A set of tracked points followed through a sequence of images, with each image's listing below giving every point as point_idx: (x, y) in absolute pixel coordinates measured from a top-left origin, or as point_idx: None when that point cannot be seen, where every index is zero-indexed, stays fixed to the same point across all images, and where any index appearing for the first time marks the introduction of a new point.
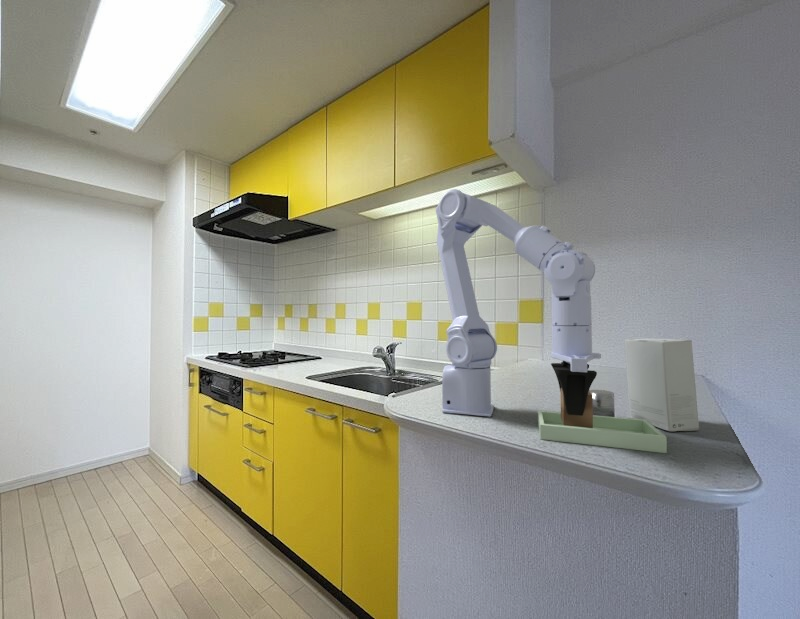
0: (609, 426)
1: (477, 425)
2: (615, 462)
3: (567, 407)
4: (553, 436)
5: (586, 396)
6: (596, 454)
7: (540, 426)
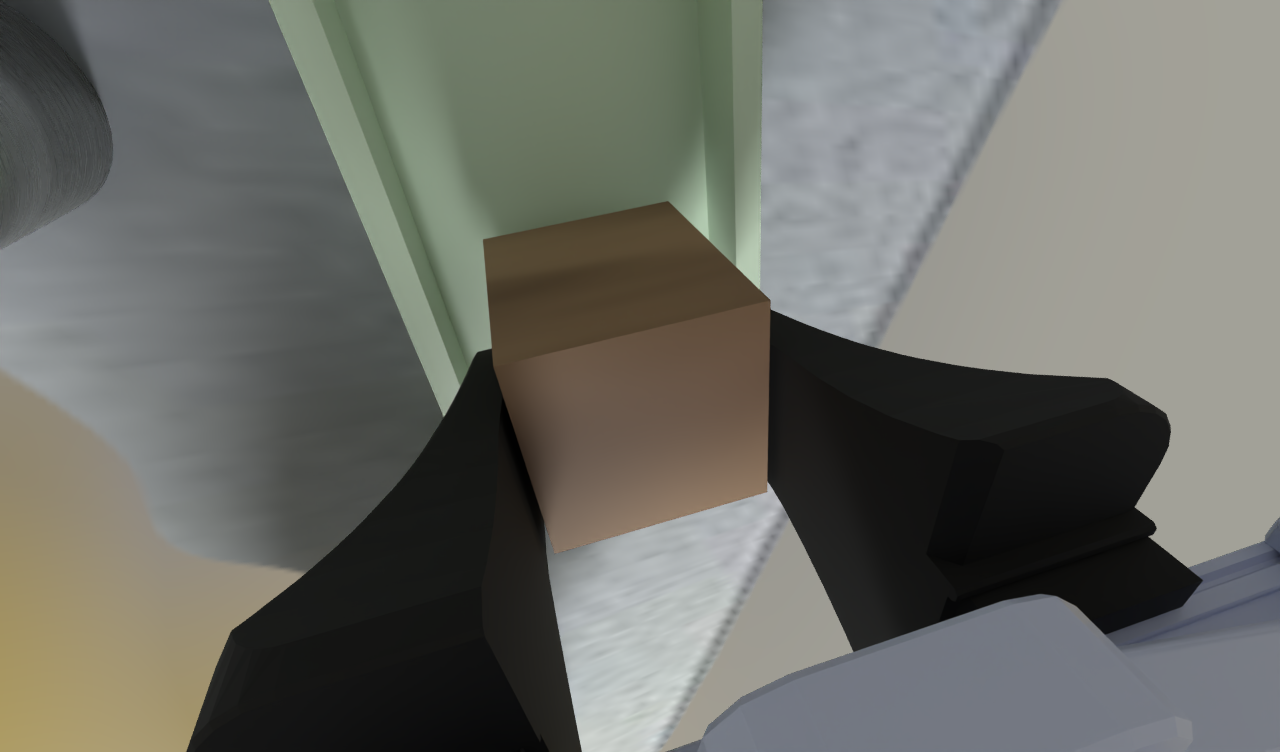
0: (354, 61)
1: (656, 603)
2: (926, 71)
3: None
4: None
5: (840, 339)
6: (846, 160)
7: None
